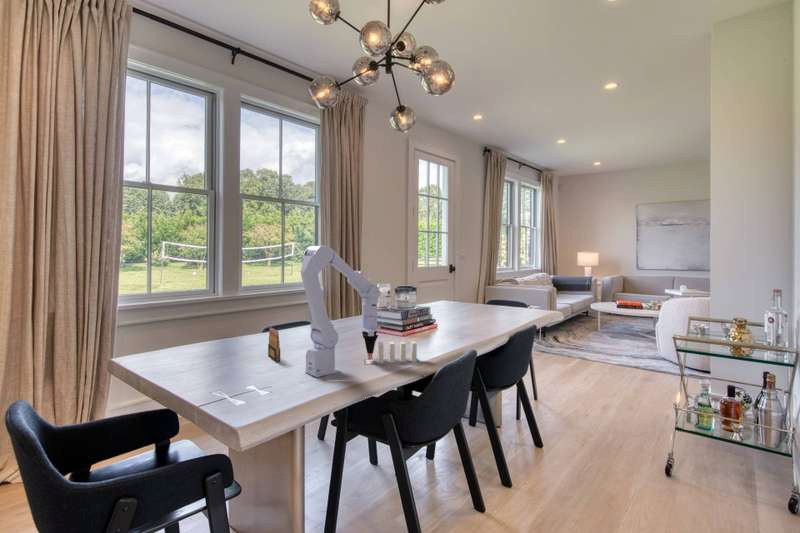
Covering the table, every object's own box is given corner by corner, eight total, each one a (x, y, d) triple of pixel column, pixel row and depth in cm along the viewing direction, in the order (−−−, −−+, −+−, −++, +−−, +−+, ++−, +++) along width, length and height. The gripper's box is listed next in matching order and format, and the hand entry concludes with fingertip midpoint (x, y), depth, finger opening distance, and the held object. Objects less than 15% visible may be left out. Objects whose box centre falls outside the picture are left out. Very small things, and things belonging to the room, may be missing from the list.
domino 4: (412, 361, 154) (412, 343, 154) (410, 359, 158) (410, 341, 158) (416, 361, 154) (416, 343, 154) (414, 359, 158) (414, 341, 158)
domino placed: (368, 359, 152) (368, 340, 152) (367, 356, 156) (367, 338, 156) (372, 359, 152) (372, 340, 152) (371, 356, 156) (371, 338, 156)
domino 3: (401, 362, 154) (401, 343, 153) (399, 359, 158) (400, 341, 157) (405, 362, 154) (405, 343, 154) (404, 359, 158) (404, 341, 158)
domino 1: (379, 363, 152) (379, 344, 152) (378, 360, 156) (378, 342, 156) (383, 362, 153) (383, 344, 152) (382, 360, 157) (382, 341, 156)
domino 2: (390, 362, 153) (390, 344, 153) (389, 359, 157) (389, 341, 157) (394, 362, 153) (394, 344, 153) (393, 359, 157) (393, 341, 157)
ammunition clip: (268, 356, 163) (267, 326, 163) (272, 355, 164) (272, 326, 164) (275, 362, 154) (275, 331, 154) (280, 361, 155) (280, 330, 155)
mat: (364, 365, 150) (364, 364, 150) (363, 360, 157) (363, 359, 157) (420, 363, 153) (420, 362, 153) (417, 358, 160) (417, 357, 160)
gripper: (382, 318, 147) (382, 356, 147) (378, 312, 161) (378, 346, 162) (362, 319, 146) (362, 356, 146) (360, 312, 160) (360, 347, 161)
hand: (369, 351), depth 154 cm, fingers closed on domino placed, 4 cm apart
